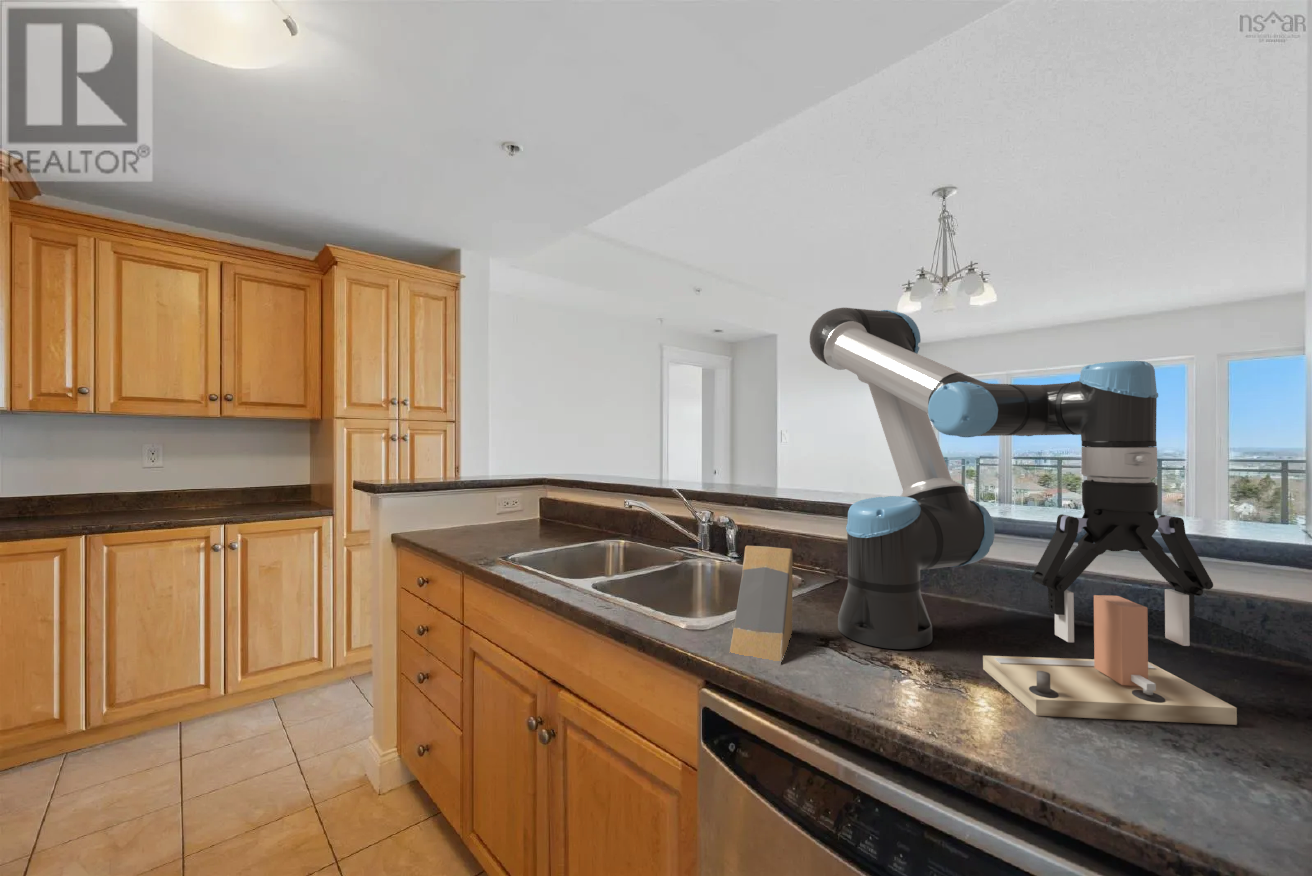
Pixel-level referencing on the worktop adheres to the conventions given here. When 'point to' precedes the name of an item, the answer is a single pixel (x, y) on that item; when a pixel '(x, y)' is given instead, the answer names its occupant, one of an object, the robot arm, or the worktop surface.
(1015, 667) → the board
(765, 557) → the sandwich container
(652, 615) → the worktop surface
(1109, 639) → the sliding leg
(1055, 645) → the worktop surface
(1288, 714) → the worktop surface
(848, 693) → the worktop surface
